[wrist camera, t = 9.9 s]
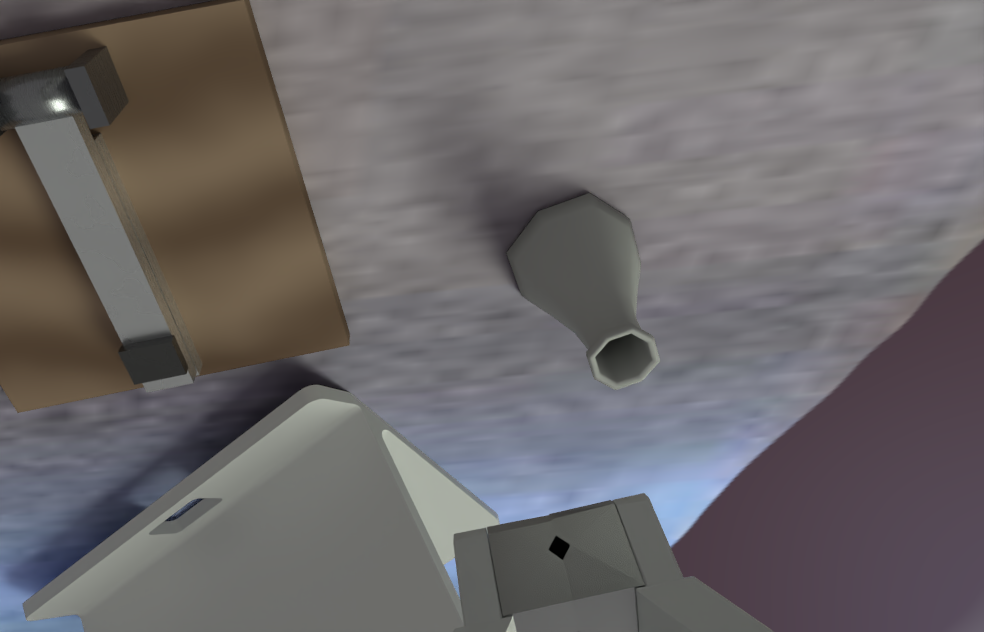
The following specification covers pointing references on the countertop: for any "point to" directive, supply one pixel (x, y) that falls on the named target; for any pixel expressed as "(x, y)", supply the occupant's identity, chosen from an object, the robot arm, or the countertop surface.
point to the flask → (588, 284)
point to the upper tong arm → (96, 224)
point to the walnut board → (168, 209)
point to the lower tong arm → (100, 107)
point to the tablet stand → (285, 536)
